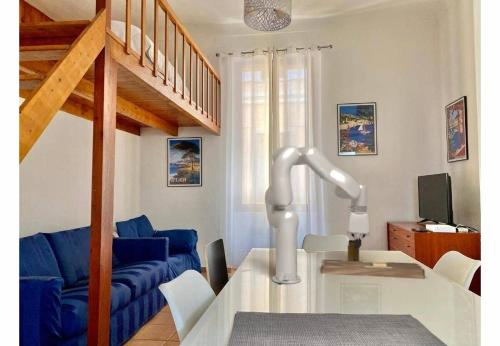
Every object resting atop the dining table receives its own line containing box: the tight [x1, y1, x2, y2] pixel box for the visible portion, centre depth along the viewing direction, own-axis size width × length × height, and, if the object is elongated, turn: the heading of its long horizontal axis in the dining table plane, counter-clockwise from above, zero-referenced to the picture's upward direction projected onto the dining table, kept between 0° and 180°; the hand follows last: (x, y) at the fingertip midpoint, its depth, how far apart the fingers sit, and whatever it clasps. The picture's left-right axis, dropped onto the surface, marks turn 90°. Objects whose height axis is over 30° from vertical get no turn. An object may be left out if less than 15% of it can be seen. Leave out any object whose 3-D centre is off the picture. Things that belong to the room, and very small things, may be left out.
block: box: [372, 261, 387, 267], centre depth 179 cm, size 6×6×5 cm
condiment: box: [347, 239, 360, 262], centre depth 203 cm, size 7×8×12 cm
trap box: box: [321, 259, 426, 280], centre depth 180 cm, size 12×46×4 cm, turn 78°
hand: (357, 247), depth 181 cm, fingers closed
